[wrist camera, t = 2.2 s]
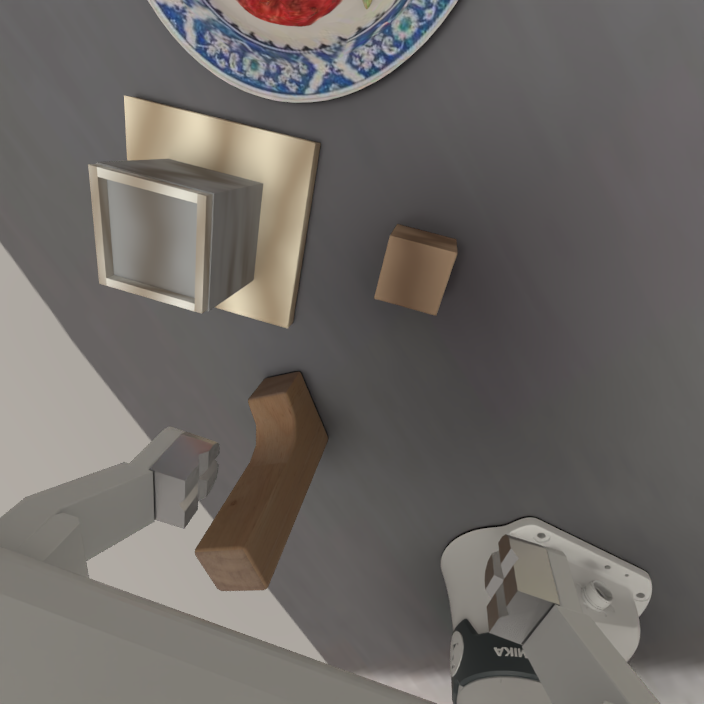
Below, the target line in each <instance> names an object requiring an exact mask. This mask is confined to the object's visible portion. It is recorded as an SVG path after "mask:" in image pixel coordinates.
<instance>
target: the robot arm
mask: <svg viewBox="0 0 704 704" xmlns="http://www.w3.org/2000/svg"><path fill="white" fill-rule="evenodd" d="M219 453H220V444H219V443H217V442H214V441H211V440H209V439H206V438H203V437H200V436H197V435H194V434H191V433H188V432H185V431H182V430H179V429H176V428H173V427H168V428H165V429H164V430H163V431H162V432H161V433H160V434H159V435H158V436H157V437H156V438H155V439H154V440H153V441H152V442H151V443H150V444H149V445H148V446H147V447H146V448H145V449H143V451H142V452H141V453H140V454H138V455H137V456H136V457H135V458H134V459H133V460H132V461H131V462H130V463H125V462H123V463H120V464H118V465H115V466H112V467H109V468H107V469H103V470H101V471H98V472H95V473H93V474H89V475H87V476H84V477H81V478H78V479H76V480H72V481H70V482H67V483H64V484H61V485H58V486H56V487H53V488H50V489H47V490H44V491H41V492H39V493H37V494H33V495H30V496H28V497H25V498H24V499H23V500H21V501H20V502H19V503H18V504H17V505H15V506H14V507H13V508H12V509H10V510H9V511H8V512H7V513H6V514H4V515H3V516H2V517H1V518H0V704H436V703H434V702H431V701H428V700H425V699H423V698H420V697H417V696H414V695H411V694H409V693H406V692H403V691H400V690H398V689H395V688H392V687H389V686H386V685H384V684H381V683H378V682H375V681H373V680H370V679H367V678H364V677H362V676H359V675H356V674H353V673H350V672H348V671H345V670H342V669H339V668H337V667H334V666H331V665H328V664H325V663H322V662H320V661H317V660H314V659H312V658H309V657H306V656H303V655H301V654H298V653H295V652H292V651H290V650H287V649H284V648H281V647H278V646H276V645H273V644H270V643H267V642H264V641H262V640H259V639H256V638H253V637H251V636H248V635H245V634H242V633H240V632H237V631H234V630H231V629H228V628H226V627H223V626H220V625H217V624H215V623H212V622H209V621H206V620H204V619H201V618H198V617H195V616H192V615H190V614H187V613H184V612H181V611H179V610H175V609H173V608H170V607H167V606H165V605H162V604H159V603H156V602H153V601H151V600H148V599H145V598H142V597H140V596H136V595H134V594H131V593H129V592H126V591H123V590H120V589H117V588H114V587H112V586H109V585H106V584H104V583H101V582H98V581H95V580H92V579H90V578H89V575H88V569H87V563H86V561H87V560H89V559H91V558H92V557H94V556H96V555H98V554H99V553H101V552H103V551H104V550H106V549H108V548H110V547H112V546H113V545H115V544H117V543H118V542H120V541H122V540H124V539H125V538H127V537H129V536H130V535H132V534H134V533H136V532H137V531H139V530H141V529H142V528H144V527H146V526H148V525H149V524H151V523H153V522H154V520H157V521H161V522H164V523H167V524H170V525H174V526H177V527H180V528H183V529H184V528H185V527H186V525H187V524H188V523H189V521H190V519H191V518H192V517H193V515H194V514H195V513H196V511H197V509H198V501H199V500H201V499H203V498H205V497H207V495H208V494H209V492H210V491H211V489H212V487H213V485H214V483H215V480H216V478H217V474H218V467H219V464H218V463H217V461H216V460H215V459H216V457H217V456H218V455H219ZM441 570H442V574H443V577H444V580H445V583H446V587H447V592H448V596H449V602H450V608H451V615H452V623H453V634H452V639H451V647H450V674H451V680H452V701H453V704H660V703H659V702H658V700H657V699H656V698H655V697H654V695H653V694H652V693H651V692H650V690H649V689H648V688H647V687H646V685H645V684H644V683H643V682H642V680H641V679H640V678H639V677H638V676H637V674H636V673H635V672H634V671H633V669H632V668H631V667H630V666H629V664H628V663H627V661H628V660H629V659H630V658H631V657H632V655H633V654H634V652H635V651H636V649H637V646H638V644H639V640H640V632H641V630H640V621H639V616H640V615H641V614H642V612H643V611H644V610H645V608H646V607H647V605H648V603H649V601H650V598H651V594H652V583H651V579H650V576H649V574H648V573H647V572H645V571H644V570H642V569H640V568H638V567H636V566H634V565H632V564H630V563H627V562H625V561H623V560H621V559H619V558H617V557H615V556H613V555H611V554H609V553H607V552H605V551H603V550H601V549H599V548H597V547H594V546H592V545H590V544H588V543H586V542H584V541H582V540H580V539H578V538H576V537H574V536H572V535H570V534H568V533H566V532H564V531H562V530H559V529H557V528H555V527H553V526H551V525H549V524H547V523H545V522H543V521H541V520H539V519H536V518H532V517H528V518H523V519H520V520H517V521H515V522H513V523H510V524H508V525H506V526H501V527H492V528H484V529H479V530H475V531H471V532H468V533H466V534H464V535H462V536H460V537H458V538H456V539H455V540H454V541H452V542H451V543H450V544H449V545H448V546H447V548H446V549H445V551H444V553H443V555H442V558H441Z"/></svg>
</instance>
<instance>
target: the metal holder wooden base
mask: <svg viewBox="0 0 704 704" xmlns="http://www.w3.org/2000/svg"><path fill="white" fill-rule="evenodd" d="M124 105H125V125H126V144H127V161H109V162H96V164H90V165H88V167H89V178H90V188H91V199H92V210H93V220H94V231H95V242H96V253H97V263H98V274H99V284H103V285H106V286H110V287H113V288H117V289H120V290H123V291H127V292H130V293H134V294H137V295H140V296H144V297H147V298H151V299H154V300H157V301H161V302H164V303H168V304H171V305H175V306H178V307H181V308H185V309H188V310H192V311H195V312H198V313H204V312H205V311H210V310H212V309H213V308H214V307H216V308H219V309H222V310H226V311H229V312H233V313H236V314H240V315H243V316H247V317H250V318H253V319H257V320H260V321H264V322H267V323H271V324H274V325H278V326H281V327H284V328H288V327H289V326H290V325H291V324H292V323H293V318H294V312H295V306H296V299H297V293H298V286H299V280H300V273H301V267H302V260H303V254H304V248H305V241H306V235H307V228H308V222H309V215H310V209H311V203H312V196H313V190H314V183H315V177H316V170H317V164H318V158H319V151H320V145H321V143H318V142H314V141H310V140H306V139H302V138H298V137H294V136H290V135H286V134H282V133H278V132H274V131H270V130H265V129H261V128H257V127H253V126H249V125H245V124H241V123H237V122H233V121H229V120H225V119H221V118H217V117H213V116H209V115H205V114H201V113H197V112H193V111H189V110H185V109H181V108H177V107H173V106H169V105H165V104H161V103H157V102H153V101H149V100H145V99H141V98H137V97H130V96H124Z"/></svg>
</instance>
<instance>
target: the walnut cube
mask: <svg viewBox="0 0 704 704" xmlns="http://www.w3.org/2000/svg"><path fill="white" fill-rule="evenodd" d="M456 256H457V242H456V239H453V238H449V237H445V236H442V235H438V234H434V233H430V232H426V231H422V230H419V229H415V228H411V227H407V226H403V225H400V224H397V225H396V227H395V228H394V230H393V232H392V233H391V235H390V237H389V241H388V245H387V249H386V253H385V257H384V261H383V265H382V269H381V273H380V277H379V281H378V285H377V289H376V293H375V296H374V299H378V300H382V301H385V302H389V303H392V304H396V305H399V306H403V307H407V308H410V309H414V310H417V311H421V312H425V313H428V314H432V315H435V316H436V315H437V312H438V309H439V306H440V303H441V300H442V297H443V294H444V291H445V288H446V285H447V282H448V279H449V276H450V273H451V271H452V268H453V265H454V262H455V259H456Z"/></svg>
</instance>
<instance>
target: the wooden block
mask: <svg viewBox="0 0 704 704" xmlns="http://www.w3.org/2000/svg"><path fill="white" fill-rule="evenodd" d="M248 403H249V406H250V409H251V412H252V415H253V417H254V420H255V423H256V447H255V450H254V453H253V455H252V458H251V461H250V463H249V464H248V466H247V468H246V469H245V471H244V472H243V474H242V476H241V477H240V479H239V480H238V482H237V484H236V485H235V487H234V488H233V490H232V492H231V493H230V495H229V496H228V498H227V500H226V501H225V503H224V504H223V506H222V508H221V509H220V511H219V512H218V514H217V516H216V517H215V519H214V520H213V522H212V524H211V526H210V527H209V528H208V530H207V531H206V533H205V535H204V536H203V538H202V539H201V541H200V543H199V544H198V546H197V547H196V549H195V555H196V557H197V558H198V560H199V561H200V563H201V564H202V566H203V567H204V569H205V571H206V572H207V574H208V575H209V577H210V578H211V579H212V581H213V583H214V584H215V586H216V587H217V589H219V590H221V591H243V590H244V591H245V590H264V589H267V587H268V586H269V583H270V581H271V578H272V576H273V574H274V571H275V569H276V566H277V564H278V561H279V559H280V556H281V554H282V552H283V549H284V547H285V544H286V542H287V539H288V537H289V534H290V532H291V530H292V527H293V525H294V522H295V520H296V517H297V515H298V512H299V510H300V508H301V505H302V503H303V500H304V498H305V495H306V493H307V490H308V488H309V486H310V483H311V481H312V478H313V476H314V473H315V471H316V468H317V466H318V463H319V461H320V459H321V456H322V454H323V451H324V449H325V446H326V444H327V442H328V436H327V434H326V432H325V429H324V427H323V424H322V422H321V420H320V417H319V415H318V413H317V410H316V408H315V406H314V403H313V401H312V398H311V396H310V394H309V391H308V389H307V387H306V384H305V382H304V379H303V377H302V375H301V373H300V372H294V373H289V374H284V375H279V376H275V377H270V378H266V379H264V380H263V381H262V383H261V384H260V385H259V386H258V388H257V389H256V390H255V391H254V393H253V394H252V395H251V396H250V398H249V399H248Z"/></svg>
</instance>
